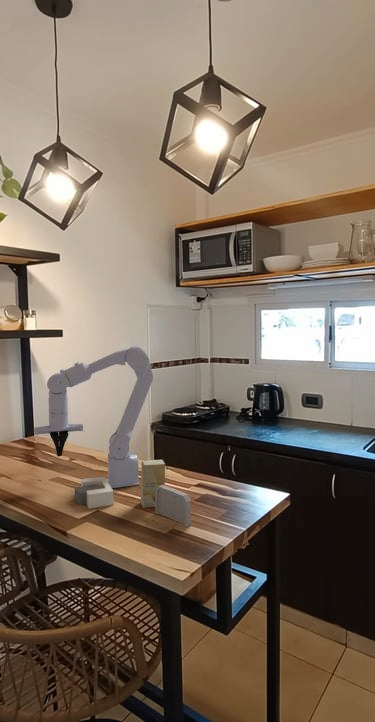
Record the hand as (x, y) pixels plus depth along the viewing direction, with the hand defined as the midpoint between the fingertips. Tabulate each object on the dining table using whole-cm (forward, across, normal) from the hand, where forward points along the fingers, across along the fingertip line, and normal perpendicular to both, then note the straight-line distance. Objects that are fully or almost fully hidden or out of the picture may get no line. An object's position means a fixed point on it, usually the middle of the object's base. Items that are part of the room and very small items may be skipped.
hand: (59, 455), depth 140 cm
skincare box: (+10, -23, +24) cm, 35 cm away
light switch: (+10, -25, +35) cm, 44 cm away
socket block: (+10, -9, +14) cm, 19 cm away
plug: (+10, -6, +14) cm, 18 cm away
